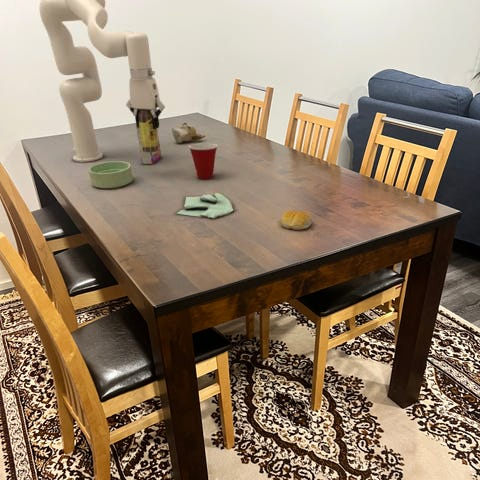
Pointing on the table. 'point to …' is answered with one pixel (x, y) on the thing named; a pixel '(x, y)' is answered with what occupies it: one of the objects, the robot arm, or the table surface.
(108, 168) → the bowl
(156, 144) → the sauce bottle
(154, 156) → the candy bar box
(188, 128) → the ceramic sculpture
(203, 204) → the cloth
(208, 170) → the plastic cup
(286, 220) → the bread roll
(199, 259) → the table surface
